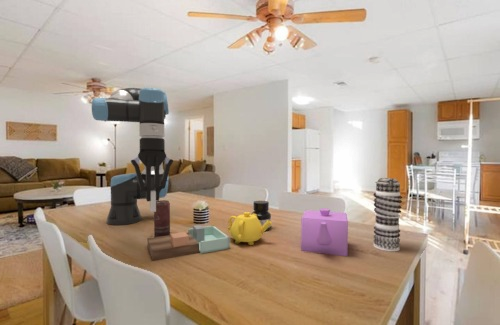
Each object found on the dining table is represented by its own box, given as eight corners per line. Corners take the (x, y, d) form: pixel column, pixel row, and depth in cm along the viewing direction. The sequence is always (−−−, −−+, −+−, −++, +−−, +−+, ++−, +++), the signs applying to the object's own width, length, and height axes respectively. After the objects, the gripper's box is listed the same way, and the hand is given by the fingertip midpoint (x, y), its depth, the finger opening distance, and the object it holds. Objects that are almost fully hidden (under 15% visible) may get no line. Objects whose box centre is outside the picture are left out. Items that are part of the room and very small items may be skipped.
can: (165, 237, 104) (165, 203, 104) (151, 236, 106) (151, 202, 105) (173, 233, 110) (173, 200, 110) (159, 232, 112) (159, 199, 111)
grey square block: (193, 225, 102) (200, 224, 103) (193, 238, 102) (200, 237, 103) (196, 229, 97) (204, 228, 99) (196, 242, 98) (204, 241, 99)
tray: (188, 238, 103) (188, 228, 103) (213, 235, 108) (213, 225, 108) (201, 253, 88) (201, 242, 88) (229, 248, 93) (229, 237, 93)
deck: (147, 246, 95) (147, 238, 95) (188, 240, 102) (188, 232, 102) (152, 260, 83) (152, 251, 82) (199, 252, 90) (199, 243, 89)
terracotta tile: (170, 242, 90) (170, 234, 90) (185, 240, 93) (185, 232, 93) (173, 247, 86) (173, 238, 86) (188, 244, 88) (188, 236, 88)
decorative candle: (390, 253, 89) (392, 180, 88) (366, 245, 97) (368, 178, 96) (406, 249, 93) (408, 179, 92) (382, 241, 102) (384, 177, 101)
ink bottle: (259, 232, 112) (259, 204, 111) (246, 228, 118) (246, 201, 118) (275, 228, 118) (275, 202, 118) (261, 224, 125) (262, 199, 124)
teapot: (272, 244, 98) (273, 214, 98) (239, 249, 92) (239, 218, 92) (255, 233, 111) (255, 207, 111) (225, 237, 105) (225, 210, 105)
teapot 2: (298, 258, 85) (298, 215, 84) (306, 235, 108) (306, 202, 108) (348, 265, 80) (349, 220, 79) (345, 239, 104) (346, 204, 103)
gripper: (130, 136, 78) (131, 215, 78) (175, 137, 84) (175, 211, 84) (129, 137, 84) (130, 210, 85) (170, 139, 90) (171, 207, 91)
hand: (152, 210), depth 85 cm, fingers closed
